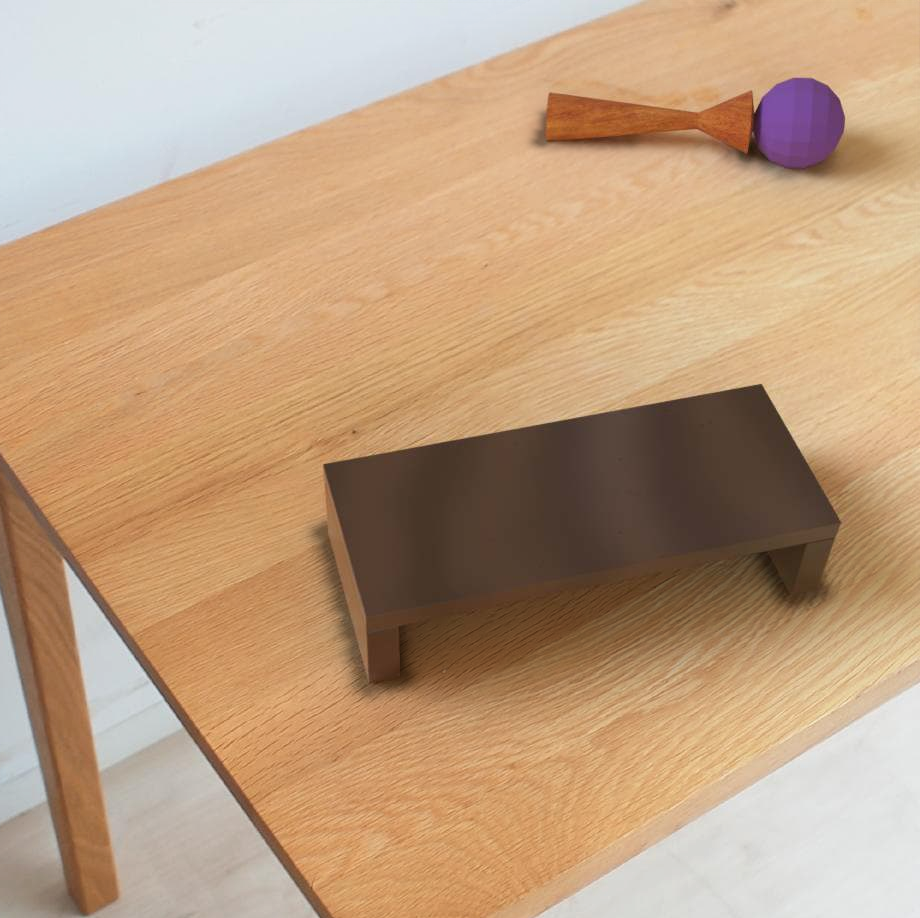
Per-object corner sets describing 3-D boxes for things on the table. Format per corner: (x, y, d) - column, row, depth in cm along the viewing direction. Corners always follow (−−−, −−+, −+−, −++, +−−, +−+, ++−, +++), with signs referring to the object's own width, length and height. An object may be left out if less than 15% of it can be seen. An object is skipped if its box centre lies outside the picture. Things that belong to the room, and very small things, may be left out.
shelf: (742, 458, 82) (761, 383, 77) (816, 595, 76) (841, 521, 71) (328, 538, 78) (322, 463, 74) (369, 689, 72) (365, 617, 67)
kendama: (553, 59, 101) (847, 65, 98) (552, 139, 105) (835, 147, 102) (544, 92, 97) (852, 99, 93) (543, 175, 100) (840, 184, 97)
